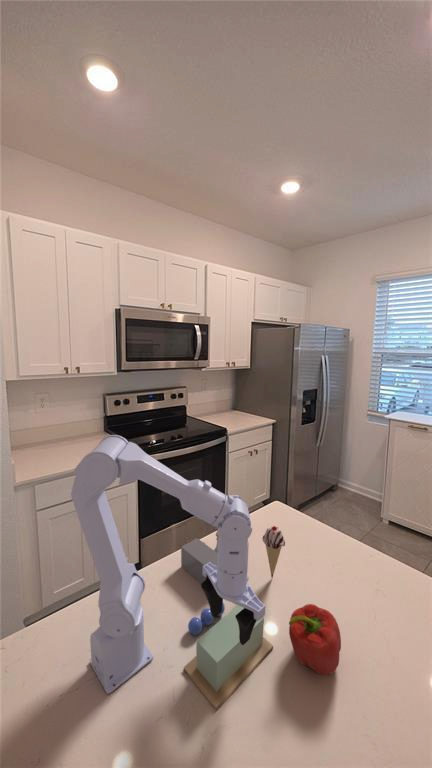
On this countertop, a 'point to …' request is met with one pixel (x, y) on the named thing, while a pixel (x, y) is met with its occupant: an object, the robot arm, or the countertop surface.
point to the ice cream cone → (273, 546)
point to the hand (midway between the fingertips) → (230, 626)
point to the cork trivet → (233, 681)
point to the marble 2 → (206, 616)
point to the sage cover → (225, 649)
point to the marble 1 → (195, 626)
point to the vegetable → (315, 638)
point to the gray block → (197, 558)
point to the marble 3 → (222, 610)
